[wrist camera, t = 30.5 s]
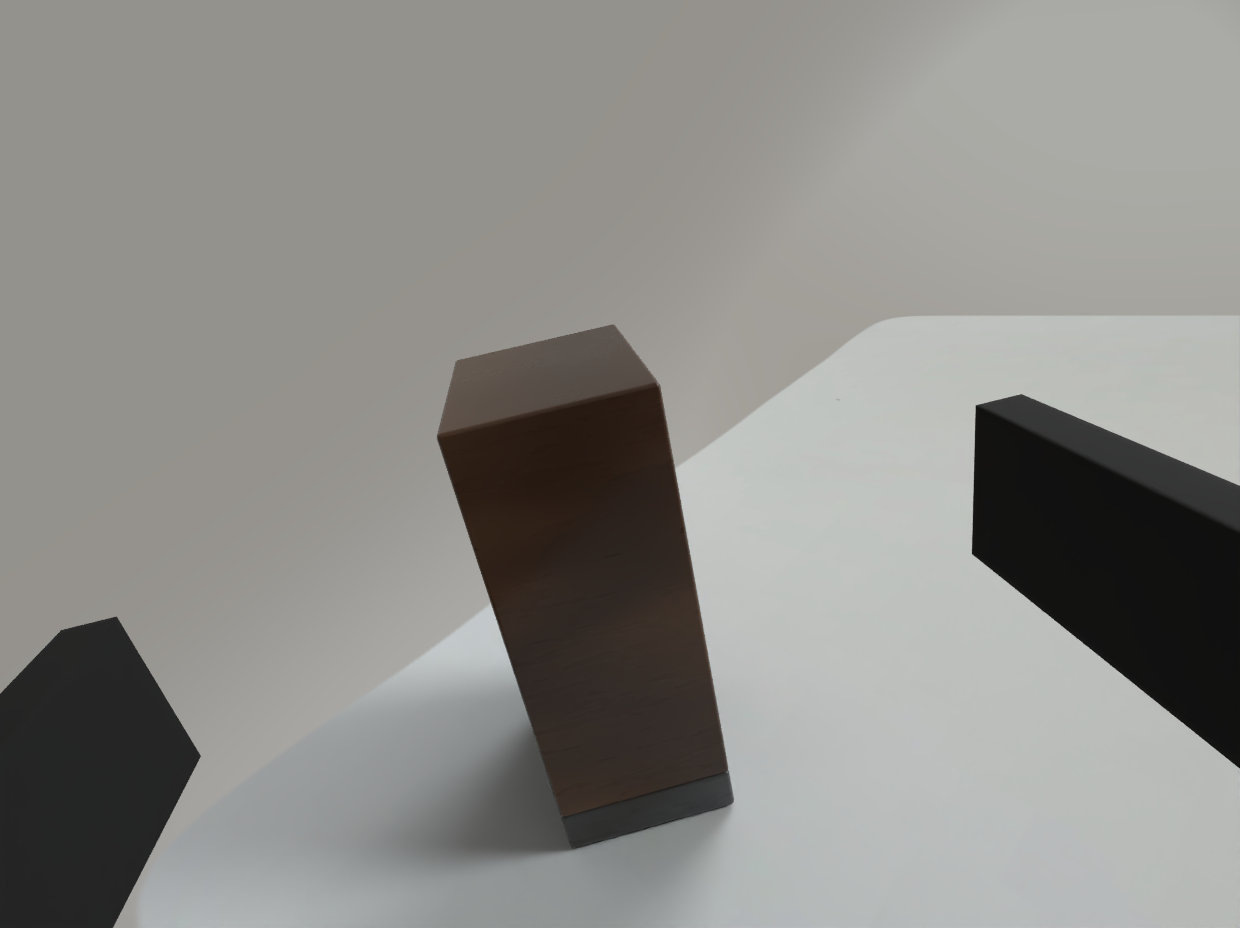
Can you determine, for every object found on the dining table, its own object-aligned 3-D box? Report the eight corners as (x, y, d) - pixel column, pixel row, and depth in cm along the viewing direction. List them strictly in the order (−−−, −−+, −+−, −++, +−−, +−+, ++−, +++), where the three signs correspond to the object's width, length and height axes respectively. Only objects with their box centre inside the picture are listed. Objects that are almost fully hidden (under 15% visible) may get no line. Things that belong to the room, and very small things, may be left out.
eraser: (571, 850, 18) (434, 435, 13) (555, 694, 24) (454, 360, 19) (735, 804, 18) (660, 382, 14) (682, 661, 24) (614, 323, 19)
